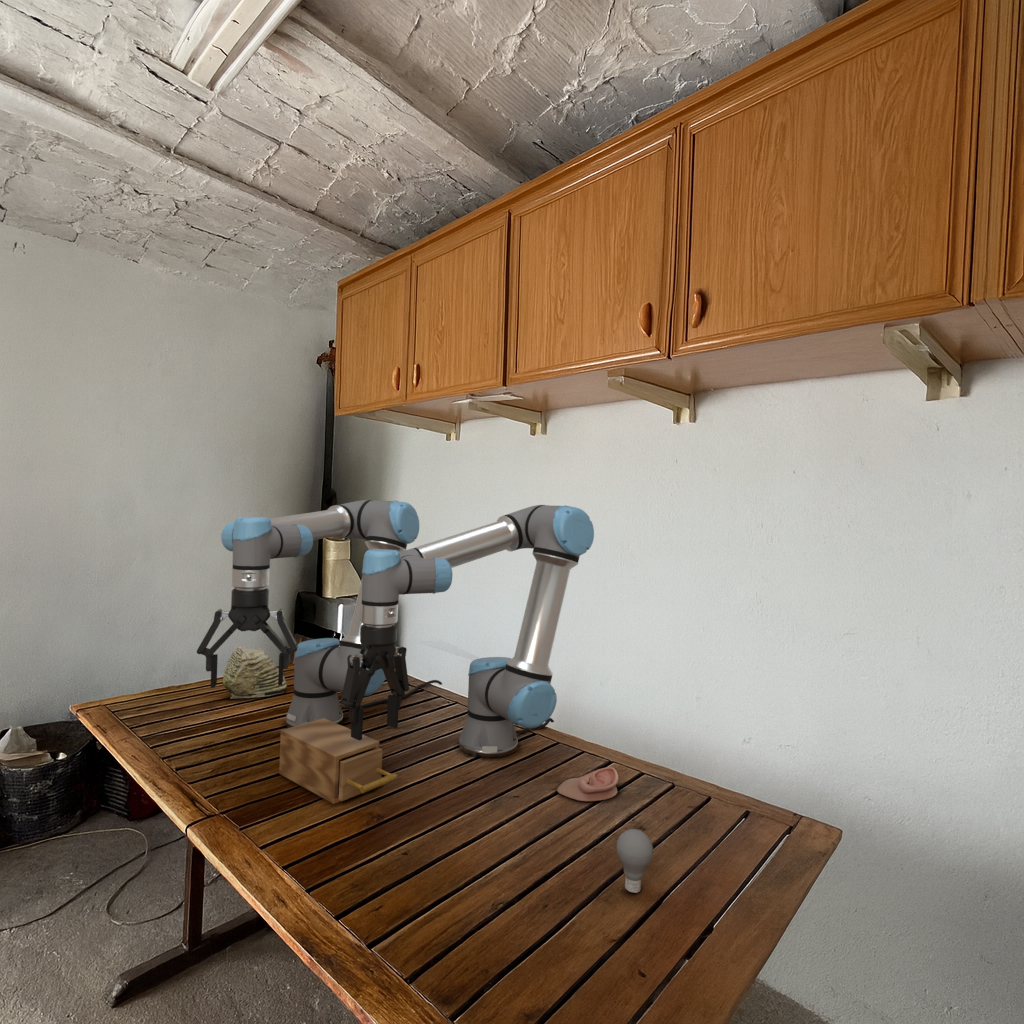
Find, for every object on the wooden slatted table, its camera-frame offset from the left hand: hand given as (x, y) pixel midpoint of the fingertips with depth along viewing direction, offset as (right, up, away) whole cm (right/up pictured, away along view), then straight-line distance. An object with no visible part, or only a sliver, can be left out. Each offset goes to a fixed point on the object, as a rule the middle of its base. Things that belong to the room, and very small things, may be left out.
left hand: (247, 684), depth 138 cm
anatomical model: (+75, -25, +4) cm, 79 cm away
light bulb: (+78, -26, -33) cm, 88 cm away
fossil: (-23, -20, +60) cm, 67 cm away
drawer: (+21, -22, 0) cm, 30 cm away
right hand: (+29, -8, -6) cm, 31 cm away
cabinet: (+16, -22, +4) cm, 28 cm away
